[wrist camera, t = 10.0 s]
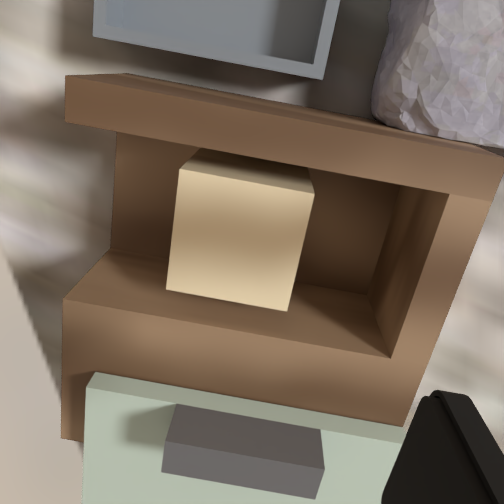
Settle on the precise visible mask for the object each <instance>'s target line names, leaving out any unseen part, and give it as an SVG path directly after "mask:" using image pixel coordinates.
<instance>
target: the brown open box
mask: <svg viewBox="0 0 504 504" xmlns="http://www.w3.org/2000/svg"><path fill="white" fill-rule="evenodd" d="M65 122H68V123H74V124H79V125H84V126H90V127H95V128H100V129H106V130H111V131H116V132H117V140H116V158H115V176H114V193H113V211H112V229H111V247H110V249H109V250H108V251H107V252H106V253H105V254H104V256H103V257H102V258H101V259H100V260H99V261H98V262H97V263H96V264H95V265H94V266H93V267H92V268H91V269H90V270H89V271H88V272H87V274H86V275H85V276H84V277H83V278H82V279H81V280H80V281H79V282H78V283H77V284H76V285H75V286H74V287H73V288H72V289H71V291H70V292H69V293H68V294H67V295H66V296H65V297H64V298H63V310H62V392H61V438H62V439H68V440H74V441H79V442H84V427H85V401H86V386H87V385H88V383H89V381H90V380H91V378H92V377H93V375H94V373H95V372H99V373H105V374H110V375H116V376H121V377H127V378H132V379H138V380H143V381H149V382H154V383H160V384H165V385H171V386H177V387H182V388H188V389H193V390H199V391H204V392H210V393H215V394H221V395H226V396H232V397H238V398H243V399H249V400H254V401H260V402H265V403H271V404H276V405H282V406H287V407H293V408H298V409H304V410H310V411H315V412H321V413H326V414H332V415H337V416H343V417H348V418H354V419H359V420H365V421H370V422H376V423H382V424H387V425H393V426H398V427H403V425H404V422H405V420H406V417H407V415H408V412H409V410H410V407H411V405H412V402H413V400H414V397H415V395H416V392H417V390H418V387H419V385H420V382H421V379H422V377H423V374H424V372H425V369H426V367H427V364H428V362H429V359H430V357H431V354H432V352H433V349H434V347H435V344H436V342H437V339H438V337H439V334H440V332H441V329H442V327H443V324H444V322H445V319H446V317H447V314H448V312H449V309H450V307H451V304H452V301H453V299H454V296H455V294H456V291H457V289H458V286H459V284H460V281H461V279H462V276H463V274H464V271H465V269H466V266H467V264H468V261H469V259H470V256H471V254H472V251H473V249H474V246H475V244H476V241H477V239H478V236H479V234H480V231H481V228H482V226H483V223H484V221H485V218H486V216H487V213H488V211H489V208H490V206H491V203H492V201H493V198H494V196H495V193H496V191H497V188H498V186H499V183H500V181H501V178H502V176H503V173H504V157H502V156H500V155H497V154H495V153H492V152H490V151H487V150H485V149H482V148H480V147H477V146H475V145H472V144H470V143H467V142H461V141H455V140H450V139H445V138H440V137H435V136H430V135H425V134H421V133H416V132H409V131H404V130H401V129H397V128H393V127H389V126H387V125H386V124H383V123H382V122H380V121H377V120H372V119H366V118H361V117H356V116H351V115H345V114H340V113H335V112H329V111H324V110H319V109H314V108H308V107H303V106H298V105H292V104H287V103H282V102H277V101H271V100H266V99H261V98H255V97H250V96H245V95H240V94H234V93H229V92H224V91H218V90H213V89H208V88H203V87H197V86H192V85H187V84H181V83H176V82H171V81H165V80H160V79H155V78H150V77H144V76H139V75H134V74H128V73H122V74H94V75H66V76H65ZM201 147H202V148H207V149H213V150H218V151H223V152H229V153H234V154H239V155H245V156H250V157H255V158H261V159H266V160H271V161H277V162H282V163H287V164H293V165H298V166H303V167H308V171H309V175H310V178H311V182H312V186H313V189H314V193H315V195H314V200H313V204H312V208H311V212H310V217H309V221H308V225H307V229H306V233H305V238H304V242H303V246H302V250H301V255H300V259H299V263H298V267H297V272H296V276H295V280H294V284H293V288H292V293H291V297H290V301H289V305H288V310H287V312H286V311H281V310H276V309H270V308H265V307H259V306H254V305H248V304H243V303H237V302H232V301H226V300H221V299H215V298H210V297H205V296H199V295H194V294H188V293H183V292H177V291H172V290H166V284H167V275H168V267H169V258H170V249H171V240H172V231H173V222H174V213H175V205H176V196H177V187H178V178H179V169H180V168H181V167H182V166H183V165H184V164H185V163H186V162H187V161H188V160H189V159H190V158H191V157H192V156H193V155H194V154H195V153H196V152H197V151H198V150H199V149H200V148H201Z"/></svg>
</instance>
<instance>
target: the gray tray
mask: <svg viewBox="0 0 504 504" xmlns="http://www.w3.org/2000/svg"><path fill="white" fill-rule="evenodd" d="M339 4H340V0H94V11H93V37H99V38H104V39H109V40H114V41H120V42H125V43H130V44H135V45H141V46H146V47H151V48H156V49H162V50H167V51H172V52H178V53H183V54H188V55H193V56H199V57H204V58H209V59H214V60H220V61H225V62H230V63H235V64H241V65H246V66H251V67H256V68H262V69H267V70H272V71H278V72H283V73H288V74H293V75H299V76H304V77H309V78H314V79H320V80H323V76H324V72H325V67H326V63H327V58H328V54H329V49H330V45H331V40H332V36H333V31H334V26H335V22H336V17H337V13H338V8H339Z"/></svg>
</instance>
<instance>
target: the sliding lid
mask: <svg viewBox="0 0 504 504" xmlns="http://www.w3.org/2000/svg"><path fill="white" fill-rule="evenodd" d="M405 437H406V433H405V430H404V427H398V426H393V425H387V424H382V423H376V422H370V421H365V420H359V419H354V418H348V417H343V416H337V415H332V414H326V413H321V412H315V411H310V410H304V409H298V408H293V407H287V406H282V405H276V404H271V403H265V402H260V401H254V400H249V399H243V398H238V397H232V396H226V395H221V394H215V393H210V392H204V391H199V390H193V389H188V388H182V387H177V386H171V385H165V384H160V383H154V382H149V381H143V380H138V379H132V378H127V377H121V376H116V375H110V374H105V373H99V372H95V373H94V375H93V377H92V378H91V380H90V381H89V383H88V385H87V386H86V401H85V427H84V453H83V479H82V504H381V498H382V493H383V490H384V488H385V485H386V483H387V480H388V478H389V476H390V473H391V471H392V468H393V466H394V463H395V461H396V459H397V456H398V454H399V451H400V449H401V446H402V444H403V442H404V439H405Z"/></svg>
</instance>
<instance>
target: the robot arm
mask: <svg viewBox="0 0 504 504" xmlns="http://www.w3.org/2000/svg"><path fill="white" fill-rule="evenodd" d="M381 504H504V455H503V453H502V451H501V449H500V448H499V446H498V444H497V443H496V441H495V439H494V438H493V436H492V434H491V432H490V431H489V429H488V427H487V426H486V424H485V422H484V421H483V419H482V417H481V415H480V414H479V412H478V410H477V409H476V407H475V405H474V404H473V402H472V400H471V399H470V398H469V397H468V396H466V395H464V394H458V393H452V392H446V391H440V390H435V391H433V392H432V393H431V395H430V396H424V397H423V398H422V399H421V401H420V403H419V405H418V407H417V410H416V412H415V415H414V417H413V420H412V422H411V425H410V427H409V429H408V432H407V434H406V437H405V439H404V442H403V444H402V446H401V449H400V451H399V454H398V456H397V459H396V461H395V463H394V466H393V468H392V471H391V473H390V476H389V478H388V480H387V483H386V485H385V488H384V490H383V493H382V498H381Z"/></svg>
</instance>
